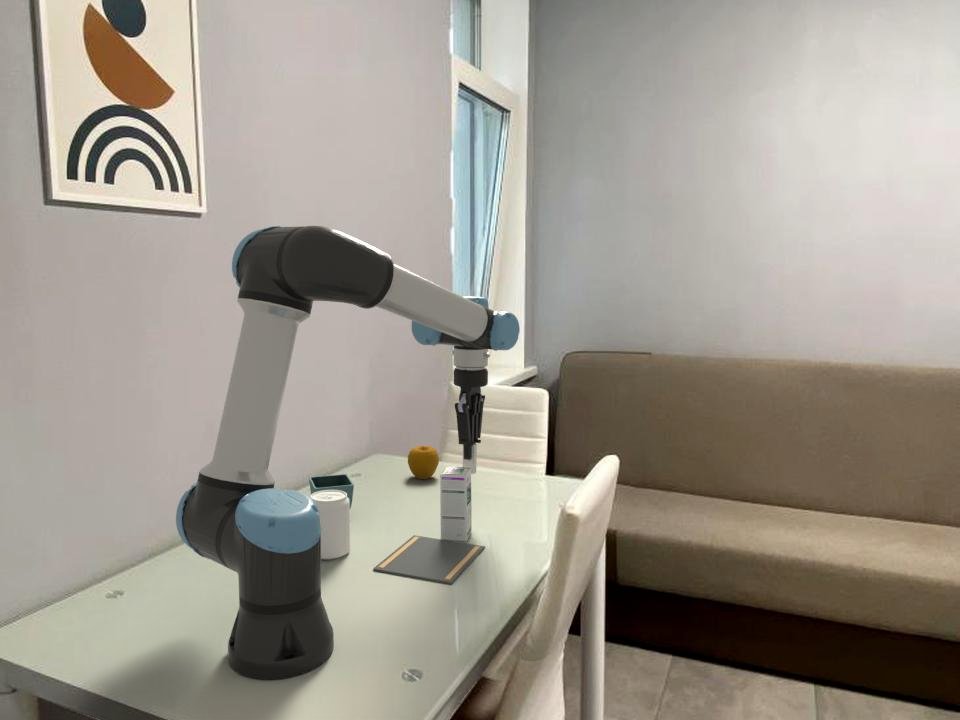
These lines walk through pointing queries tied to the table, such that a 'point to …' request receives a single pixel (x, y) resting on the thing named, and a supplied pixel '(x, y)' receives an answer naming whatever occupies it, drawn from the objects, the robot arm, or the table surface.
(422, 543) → the mat
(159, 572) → the table surface
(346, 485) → the flower pot
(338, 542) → the beverage can
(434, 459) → the apple
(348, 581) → the table surface
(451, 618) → the table surface
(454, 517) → the syrup box
